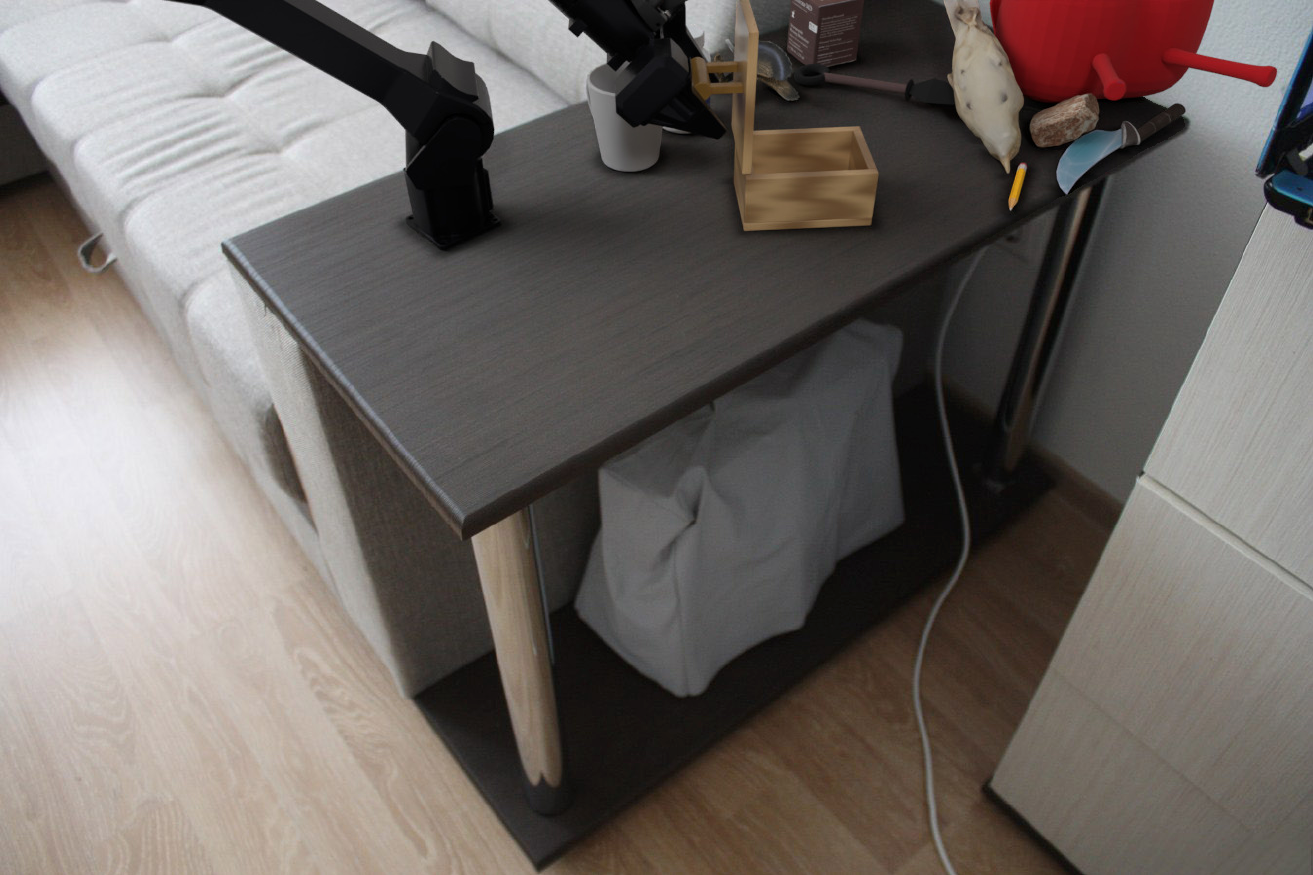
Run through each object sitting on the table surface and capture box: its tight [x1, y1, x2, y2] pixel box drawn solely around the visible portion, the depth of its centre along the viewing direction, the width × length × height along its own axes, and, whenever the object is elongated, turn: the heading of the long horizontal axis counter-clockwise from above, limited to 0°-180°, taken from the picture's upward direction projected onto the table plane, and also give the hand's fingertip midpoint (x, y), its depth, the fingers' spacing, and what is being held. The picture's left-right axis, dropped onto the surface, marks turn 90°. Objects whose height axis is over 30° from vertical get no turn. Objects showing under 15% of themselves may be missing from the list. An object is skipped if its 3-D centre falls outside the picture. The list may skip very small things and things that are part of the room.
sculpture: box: [943, 0, 1025, 175], centre depth 102 cm, size 6×25×5 cm
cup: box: [585, 61, 664, 173], centre depth 100 cm, size 8×10×8 cm
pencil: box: [1008, 162, 1028, 211], centre depth 97 cm, size 1×8×1 cm
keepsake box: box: [733, 125, 880, 232], centre depth 94 cm, size 12×9×5 cm
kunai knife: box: [793, 64, 1043, 111], centre depth 108 cm, size 4×27×3 cm, turn 57°
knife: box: [1055, 102, 1186, 195], centre depth 102 cm, size 22×2×5 cm
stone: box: [1029, 93, 1100, 148], centre depth 102 cm, size 7×6×5 cm
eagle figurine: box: [713, 38, 800, 102], centre depth 110 cm, size 8×7×9 cm
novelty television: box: [989, 0, 1278, 105], centre depth 105 cm, size 21×13×30 cm
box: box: [786, 0, 865, 68], centre depth 116 cm, size 6×6×7 cm
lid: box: [691, 0, 760, 174], centre depth 87 cm, size 12×9×5 cm
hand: (719, 109), depth 89 cm, fingers open, 9 cm apart
